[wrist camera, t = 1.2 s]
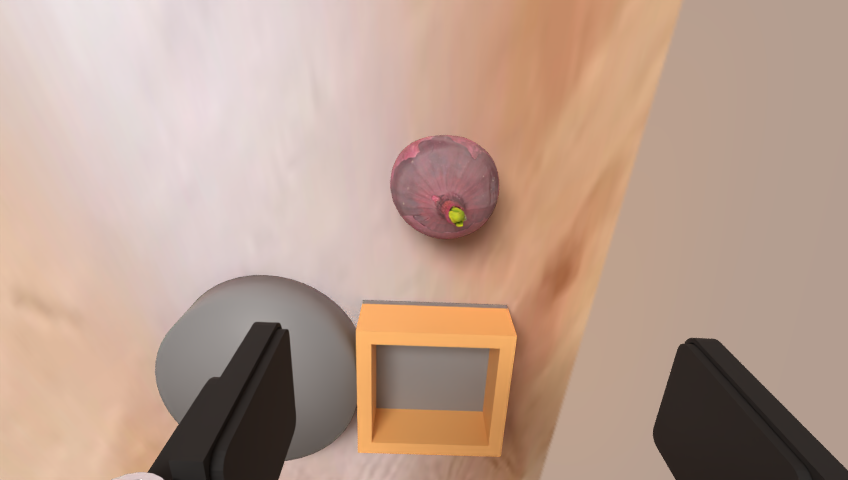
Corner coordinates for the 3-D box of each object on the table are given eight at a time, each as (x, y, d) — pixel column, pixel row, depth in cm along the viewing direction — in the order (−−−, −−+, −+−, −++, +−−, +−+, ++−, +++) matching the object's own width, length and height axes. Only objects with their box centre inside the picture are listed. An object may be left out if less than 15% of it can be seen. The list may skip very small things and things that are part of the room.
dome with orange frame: (491, 433, 39) (498, 474, 35) (194, 424, 38) (169, 464, 35) (509, 283, 33) (520, 313, 30) (165, 271, 33) (132, 299, 29)
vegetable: (494, 207, 31) (524, 274, 22) (404, 222, 32) (396, 293, 22) (484, 116, 29) (512, 147, 20) (386, 133, 29) (369, 171, 20)
